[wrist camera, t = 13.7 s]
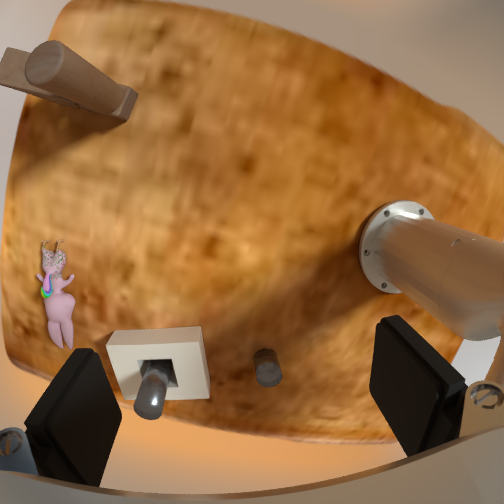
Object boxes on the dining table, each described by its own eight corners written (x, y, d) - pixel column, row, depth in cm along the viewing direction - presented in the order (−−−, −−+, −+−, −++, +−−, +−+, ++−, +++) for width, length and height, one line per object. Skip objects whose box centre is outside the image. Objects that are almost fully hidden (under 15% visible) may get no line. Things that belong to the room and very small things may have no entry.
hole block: (200, 325, 40) (198, 341, 36) (210, 380, 42) (209, 398, 38) (114, 330, 39) (105, 345, 35) (130, 382, 41) (124, 399, 37)
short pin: (276, 347, 41) (281, 365, 37) (277, 366, 42) (282, 385, 38) (252, 349, 41) (256, 369, 37) (254, 368, 42) (257, 388, 38)
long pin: (171, 346, 40) (157, 399, 29) (176, 365, 41) (164, 420, 30) (149, 347, 40) (130, 399, 29) (154, 366, 41) (138, 419, 30)
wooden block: (68, 77, 30) (-17, 35, 13) (139, 93, 32) (74, 39, 14) (58, 104, 31) (-35, 77, 13) (128, 122, 33) (52, 89, 15)
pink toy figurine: (42, 239, 36) (54, 342, 38) (19, 242, 30) (34, 357, 32) (79, 238, 37) (90, 346, 38) (58, 240, 31) (72, 363, 32)
